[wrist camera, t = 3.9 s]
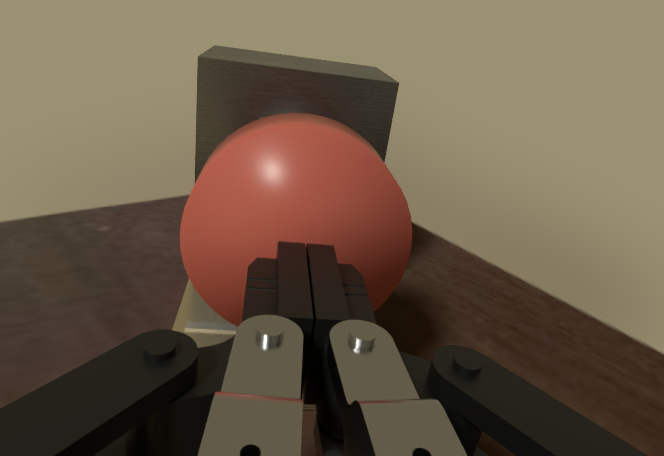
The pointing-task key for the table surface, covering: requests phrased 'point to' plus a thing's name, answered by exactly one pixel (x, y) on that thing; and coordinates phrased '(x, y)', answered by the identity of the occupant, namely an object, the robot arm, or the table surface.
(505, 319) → the table surface
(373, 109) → the grey box with base
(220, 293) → the red round knob
